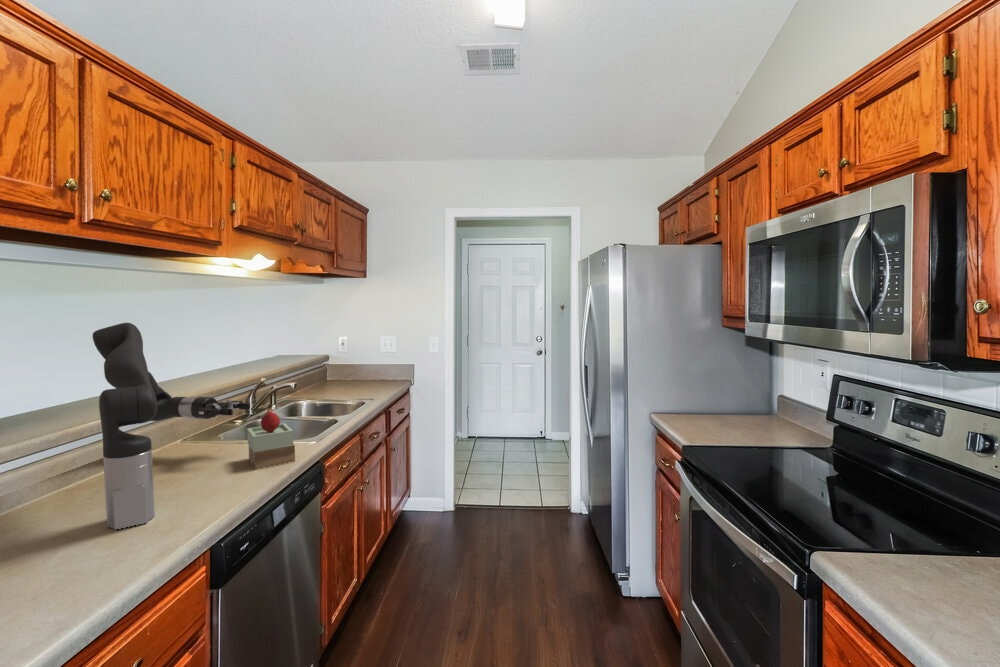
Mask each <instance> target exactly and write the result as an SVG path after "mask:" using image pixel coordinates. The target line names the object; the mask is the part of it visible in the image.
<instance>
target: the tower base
mask: <svg viewBox="0 0 1000 667" xmlns="http://www.w3.org/2000/svg"><path fill="white" fill-rule="evenodd" d="M248 460H249V461H251V462H250V463H251V465H252V464H253V465H252V466H253V467H255V468H254V470H259V469H258V468H261V469H264V468H263V467H266V468H270V467H269V466H271V467H275V466H274V465H276V466H280V465H279V464H281V465H285V464H284V463H286V464H289V463H288V462H292V461H295V462H296V447H295V444H294V443H293V446H288V447H282V448H276V449H271V450H265V451H259V452H253V451H252V449H251V448H250V446H249V445H248ZM292 463H293V462H292Z"/></svg>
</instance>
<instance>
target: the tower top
mask: <svg viewBox="0 0 1000 667" xmlns="http://www.w3.org/2000/svg"><path fill="white" fill-rule="evenodd" d="M246 433H247V434H246V435H247V436H246V437H247V445H248V447H249V446H250V448H251V449H252V451H253V452H259V451H265V450H271V449H276V448H282V447H288V446H293V444H294V430H293V429H292V428H291V427H290V426H289V425H288V424H287V423H285V422H283V423H282V422H281V423H280V424H279V426H278V427H277V428H276V429H275V430H274V431H273V432H272V433H269V432H267V431H265V430H264V429H263V428H262V427H261V426H255V427H254V426H253V427H248V428H246Z"/></svg>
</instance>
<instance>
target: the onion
mask: <svg viewBox="0 0 1000 667" xmlns="http://www.w3.org/2000/svg"><path fill="white" fill-rule="evenodd" d="M279 424H281V420H280V417H279V415H277V413H275V412H273V409H269V410H268V411H267V412H266V413H265V414H264V415H263V416H262V418H261V419H260V427H262V428H263V429H264V430H265V431H267V432H269V433H272V432H273V431H274V430H275V429H276V428H277V427H278V426H279Z"/></svg>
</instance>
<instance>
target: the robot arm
mask: <svg viewBox="0 0 1000 667" xmlns="http://www.w3.org/2000/svg"><path fill="white" fill-rule="evenodd" d="M142 336H143V335H142V333H141V331H140V330H139V328H138V327H137V326H136V325H135V324H134V323H132V322H131V323H130V322H122V323H121V322H120V323H118V324H117V323H116V324H114V325H110V326H107V327H103V328H100V329H97V330H95V331H94V332H92V341H93V343H94V346H95V348H96V349H97V351H98V353H99V354H100V355H101V356H102V358H103V359H104V360H105V361H104V363H103V374H104V378H105V380H106V382H107V383H108V384H109V385H110V386H112V387H113V388H109V389H105V390H103V391H101V393H100V395H99V399H98V408H99V409H98V410H99V417H100V425H101V433H102V457H103V458H102V459H103V460H102V461H103V475H104V476H103V477H104V478H103V479H104V497H105V511H106V512H105V513H106V526H107V528H109V527H110V528H109V529H113V528H114V529H113V530H114V531H117V530H116V529H119V530H122V529H121V528H123V529H127V528H126V527H128V528H131V527H130V526H132V527H135V526H134V525H136V526H140V525H143V524H144V523H145V524H147V523H148V522H149V521H150V520H152V519H153V518H154V517H155V511H156V510H155V496H154V495H155V493H154V492H155V490H154V473H153V472H154V470H153V469H154V468H153V450H152V449H153V448H152V447H153V446H152V445H153V444H152V439H151V438H150V437H149V436H146V435H140V434H133V433H128V432H125V431H123V430H121V429H120V427H123V426H125V427H126V426H132V425H138V424H139V425H140V424H145V423H148V422H158V421H159V422H160V421H163V420H168V419H172V418H187V419H198V420H199V419H201V420H202V419H203V420H210V419H212V418H215V417H220V416H233V415H234V411H235V410H250V409H251V404H250V402H243V400H228V399H227V400H225V401H222V400H221V401H217V400H216V398H214V397H212V396H174V397H172V395H171V394H170V393H168V392H166V391H165V390H164V389H163V388H162V387H161V386H159V384H158V383H157V380H156V379H155V378H154V376H153V374H152V373H151V372H150V371H149V370H148V365H147V360H146V358H145V355H144V340H143V337H142ZM139 524H140V525H139Z"/></svg>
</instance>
